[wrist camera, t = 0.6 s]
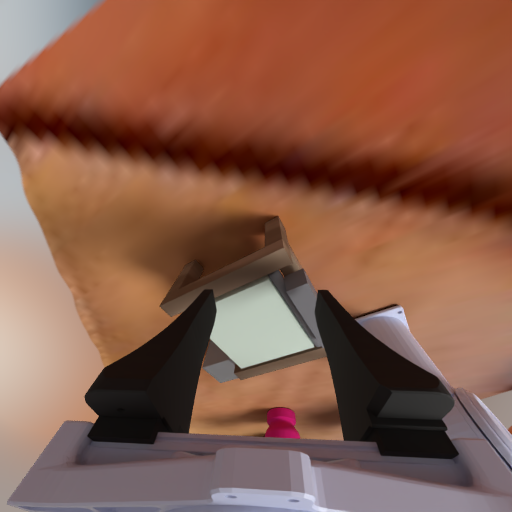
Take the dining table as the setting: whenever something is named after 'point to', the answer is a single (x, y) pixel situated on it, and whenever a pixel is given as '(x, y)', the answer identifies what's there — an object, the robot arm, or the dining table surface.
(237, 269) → the frame
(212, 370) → the grey cube
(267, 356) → the trapdoor
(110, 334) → the dining table surface
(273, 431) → the pepper mill
